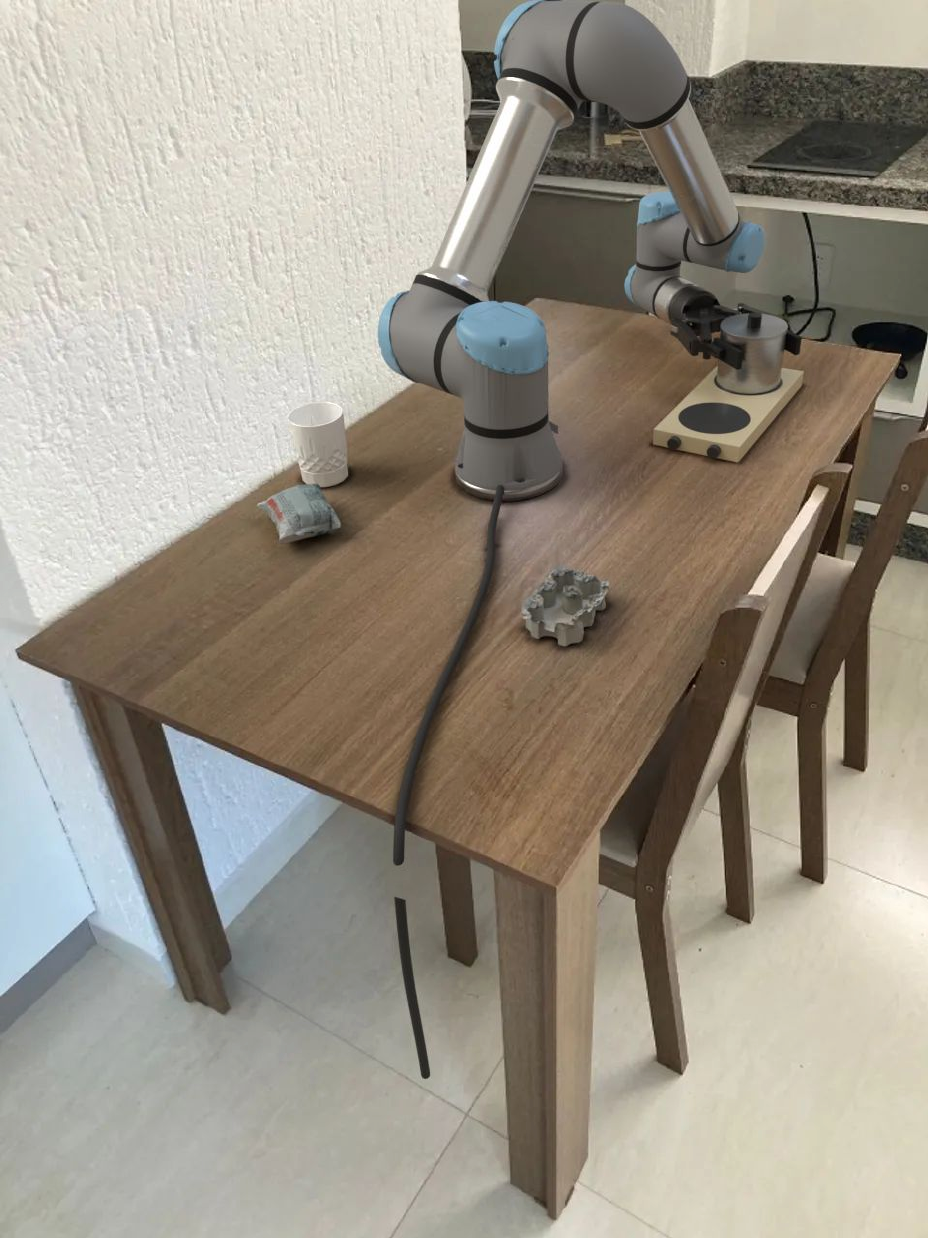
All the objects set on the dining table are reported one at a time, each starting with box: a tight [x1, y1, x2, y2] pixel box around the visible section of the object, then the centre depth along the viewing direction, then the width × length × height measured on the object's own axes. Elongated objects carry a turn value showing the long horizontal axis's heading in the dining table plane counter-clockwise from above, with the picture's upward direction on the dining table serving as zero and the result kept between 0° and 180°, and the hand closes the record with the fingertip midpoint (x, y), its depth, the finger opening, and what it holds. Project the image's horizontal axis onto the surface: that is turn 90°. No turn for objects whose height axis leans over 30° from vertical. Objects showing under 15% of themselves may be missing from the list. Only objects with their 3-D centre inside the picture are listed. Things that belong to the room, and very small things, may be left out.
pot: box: [717, 313, 789, 394], centre depth 155 cm, size 10×10×11 cm
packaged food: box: [256, 483, 342, 545], centre depth 136 cm, size 9×12×5 cm
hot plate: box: [652, 365, 805, 464], centre depth 154 cm, size 29×13×2 cm, turn 147°
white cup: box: [286, 401, 349, 488], centre depth 145 cm, size 8×8×10 cm
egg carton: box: [520, 562, 611, 647], centre depth 116 cm, size 11×8×4 cm
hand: (769, 353), depth 151 cm, fingers closed on pot, 10 cm apart
